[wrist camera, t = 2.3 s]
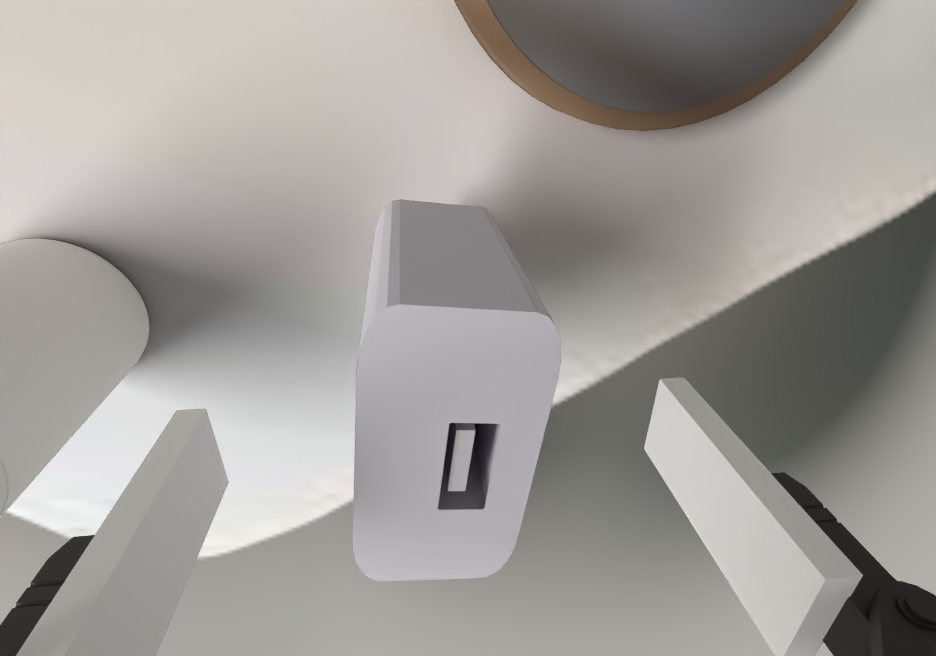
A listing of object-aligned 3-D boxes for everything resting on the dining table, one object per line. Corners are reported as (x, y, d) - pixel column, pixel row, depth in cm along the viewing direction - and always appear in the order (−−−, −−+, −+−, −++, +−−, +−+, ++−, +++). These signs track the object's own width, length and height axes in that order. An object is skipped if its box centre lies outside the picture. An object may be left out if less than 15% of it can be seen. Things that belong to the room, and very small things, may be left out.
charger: (479, 174, 24) (575, 315, 11) (457, 338, 28) (507, 578, 15) (381, 164, 23) (357, 303, 10) (374, 334, 27) (352, 584, 14)
